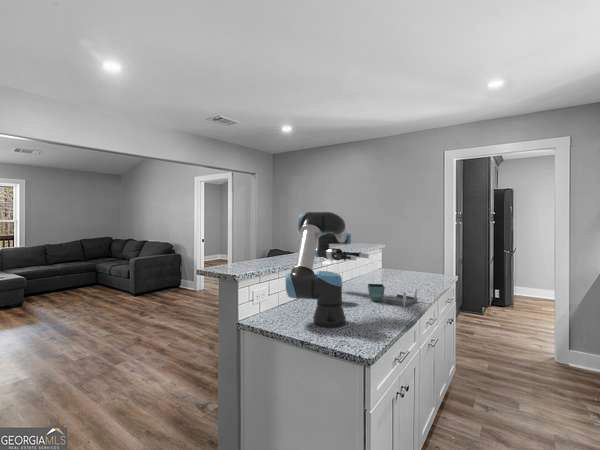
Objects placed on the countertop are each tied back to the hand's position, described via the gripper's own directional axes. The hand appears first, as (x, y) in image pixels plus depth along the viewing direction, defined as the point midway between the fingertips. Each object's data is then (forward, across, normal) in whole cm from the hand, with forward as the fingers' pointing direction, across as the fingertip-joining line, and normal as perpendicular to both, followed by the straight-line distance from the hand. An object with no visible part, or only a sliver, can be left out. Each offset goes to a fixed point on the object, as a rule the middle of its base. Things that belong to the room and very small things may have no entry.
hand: (362, 257), depth 198 cm
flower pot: (+10, +1, -25) cm, 27 cm away
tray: (+23, -5, -25) cm, 34 cm away
